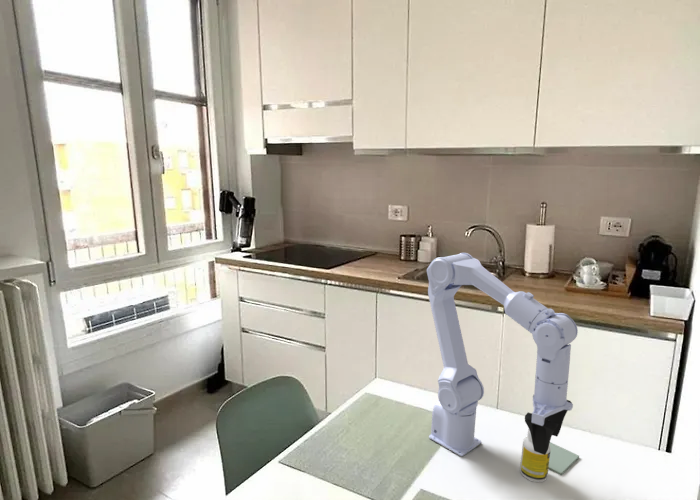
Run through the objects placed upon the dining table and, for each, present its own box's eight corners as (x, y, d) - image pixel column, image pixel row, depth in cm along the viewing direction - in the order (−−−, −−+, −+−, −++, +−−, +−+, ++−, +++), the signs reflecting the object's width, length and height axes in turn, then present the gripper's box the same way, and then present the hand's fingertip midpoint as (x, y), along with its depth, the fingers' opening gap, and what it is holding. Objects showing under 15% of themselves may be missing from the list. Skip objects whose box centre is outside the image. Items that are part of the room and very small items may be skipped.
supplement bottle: (549, 484, 95) (554, 441, 93) (521, 480, 96) (526, 438, 94) (544, 467, 100) (549, 426, 98) (518, 464, 101) (522, 423, 99)
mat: (525, 457, 103) (525, 455, 103) (544, 441, 109) (544, 439, 109) (560, 475, 97) (561, 473, 97) (579, 457, 103) (579, 455, 103)
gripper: (563, 398, 80) (557, 469, 83) (583, 370, 91) (578, 433, 94) (522, 386, 85) (517, 454, 87) (546, 361, 96) (542, 421, 98)
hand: (546, 442), depth 91 cm, fingers open, 7 cm apart
